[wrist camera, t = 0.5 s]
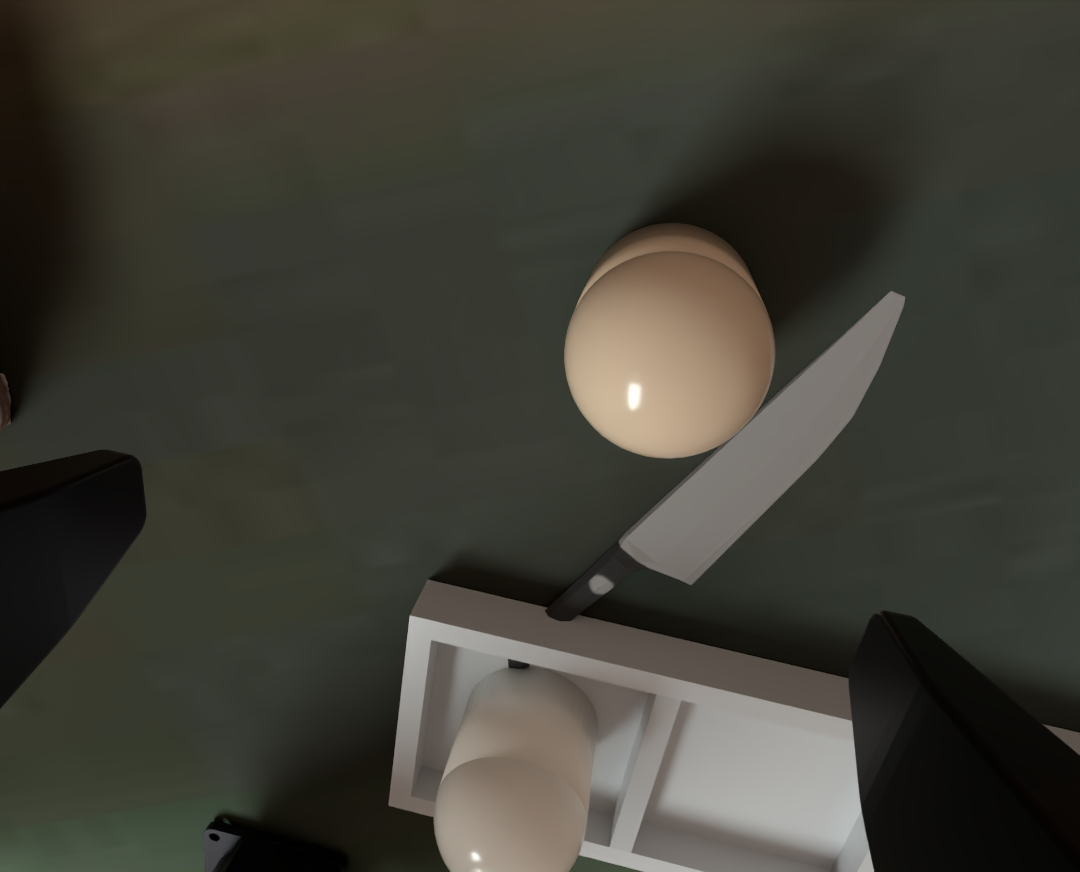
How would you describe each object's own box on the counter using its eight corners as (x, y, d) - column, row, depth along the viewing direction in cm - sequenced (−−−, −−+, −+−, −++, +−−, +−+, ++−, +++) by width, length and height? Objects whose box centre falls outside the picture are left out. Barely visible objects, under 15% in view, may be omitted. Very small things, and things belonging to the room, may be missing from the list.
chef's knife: (1005, 316, 20) (931, 244, 20) (1025, 329, 19) (948, 253, 19) (556, 692, 28) (493, 649, 27) (554, 715, 27) (488, 671, 26)
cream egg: (584, 780, 28) (562, 957, 22) (459, 749, 29) (406, 915, 23) (609, 684, 26) (593, 852, 20) (475, 652, 26) (421, 807, 21)
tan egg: (729, 406, 22) (750, 517, 16) (568, 372, 22) (534, 469, 17) (778, 241, 20) (822, 302, 14) (600, 206, 20) (573, 252, 15)
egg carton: (1064, 930, 28) (1090, 987, 27) (405, 763, 30) (388, 805, 28) (1194, 759, 24) (1235, 812, 23) (427, 579, 26) (409, 615, 24)
